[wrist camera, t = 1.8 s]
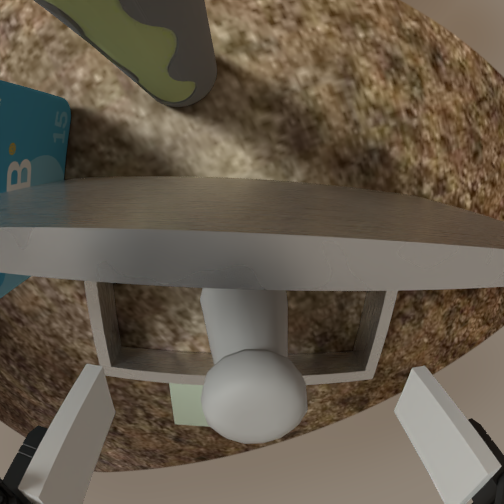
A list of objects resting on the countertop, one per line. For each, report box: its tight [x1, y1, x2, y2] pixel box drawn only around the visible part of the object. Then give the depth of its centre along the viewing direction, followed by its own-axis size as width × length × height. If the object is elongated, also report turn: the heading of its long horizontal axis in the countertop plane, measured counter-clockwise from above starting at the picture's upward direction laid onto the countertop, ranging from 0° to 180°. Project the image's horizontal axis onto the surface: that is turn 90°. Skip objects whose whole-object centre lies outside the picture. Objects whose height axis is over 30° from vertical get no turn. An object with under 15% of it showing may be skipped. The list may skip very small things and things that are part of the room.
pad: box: [169, 383, 209, 426], centre depth 25 cm, size 8×8×1 cm
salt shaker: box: [200, 288, 308, 444], centre depth 16 cm, size 6×6×13 cm
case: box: [0, 176, 504, 385], centre depth 14 cm, size 23×16×17 cm
